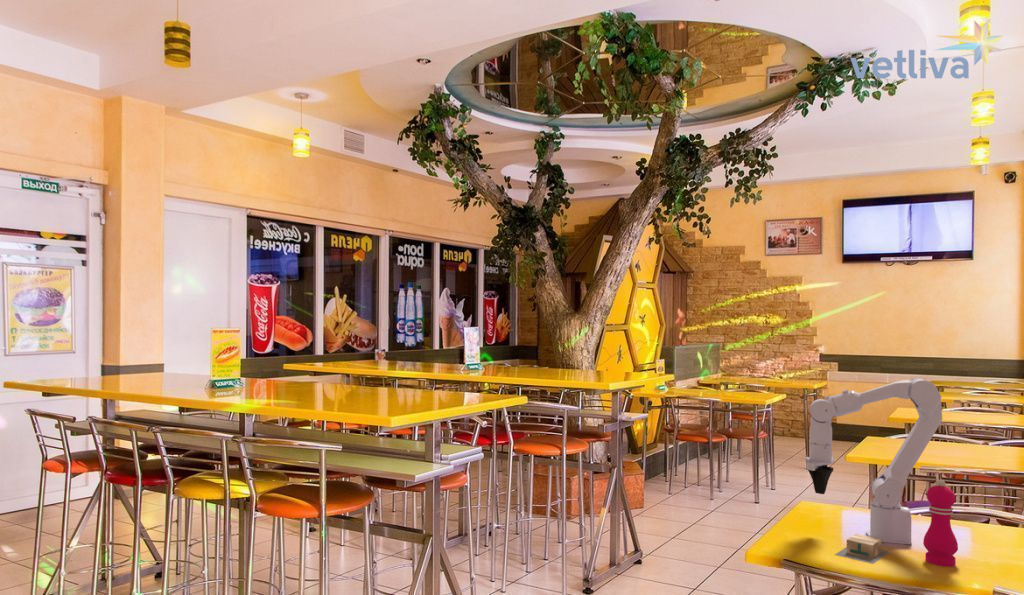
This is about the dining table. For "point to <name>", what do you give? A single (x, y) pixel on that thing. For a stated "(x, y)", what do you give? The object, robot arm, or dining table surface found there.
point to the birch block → (864, 546)
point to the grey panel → (861, 558)
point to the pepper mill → (940, 527)
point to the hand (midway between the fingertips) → (820, 493)
